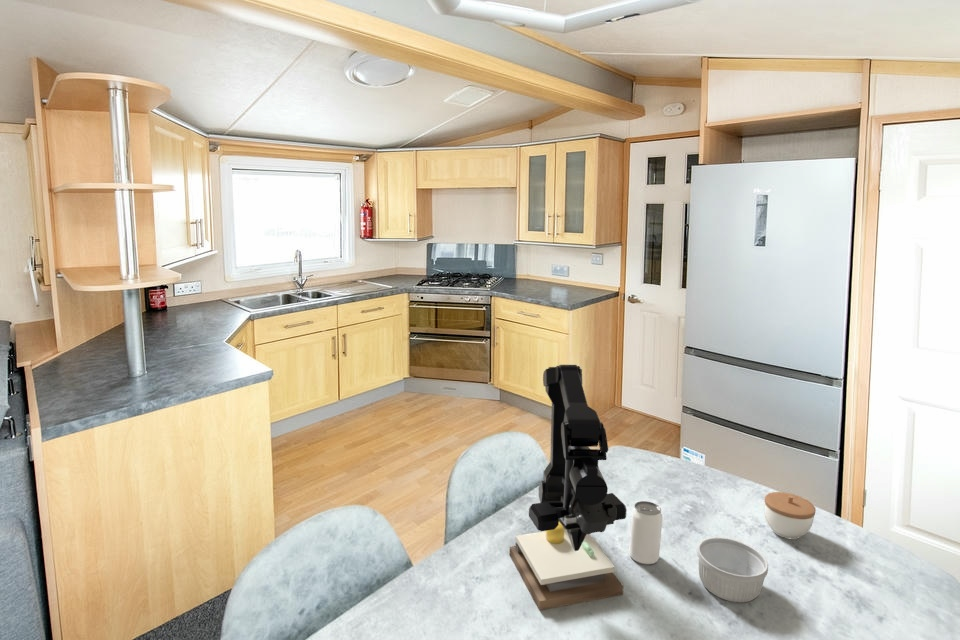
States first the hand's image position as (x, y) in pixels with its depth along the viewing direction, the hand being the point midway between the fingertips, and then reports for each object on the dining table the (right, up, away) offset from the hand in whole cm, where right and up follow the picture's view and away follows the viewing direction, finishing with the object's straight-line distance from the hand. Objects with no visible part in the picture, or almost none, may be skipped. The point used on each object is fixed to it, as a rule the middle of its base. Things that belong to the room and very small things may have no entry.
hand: (575, 549), depth 112 cm
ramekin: (+33, -9, +4) cm, 34 cm away
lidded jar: (+55, -6, +23) cm, 60 cm away
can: (+17, -7, +13) cm, 23 cm away
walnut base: (-2, -8, +7) cm, 10 cm away
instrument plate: (-2, -4, +6) cm, 8 cm away
